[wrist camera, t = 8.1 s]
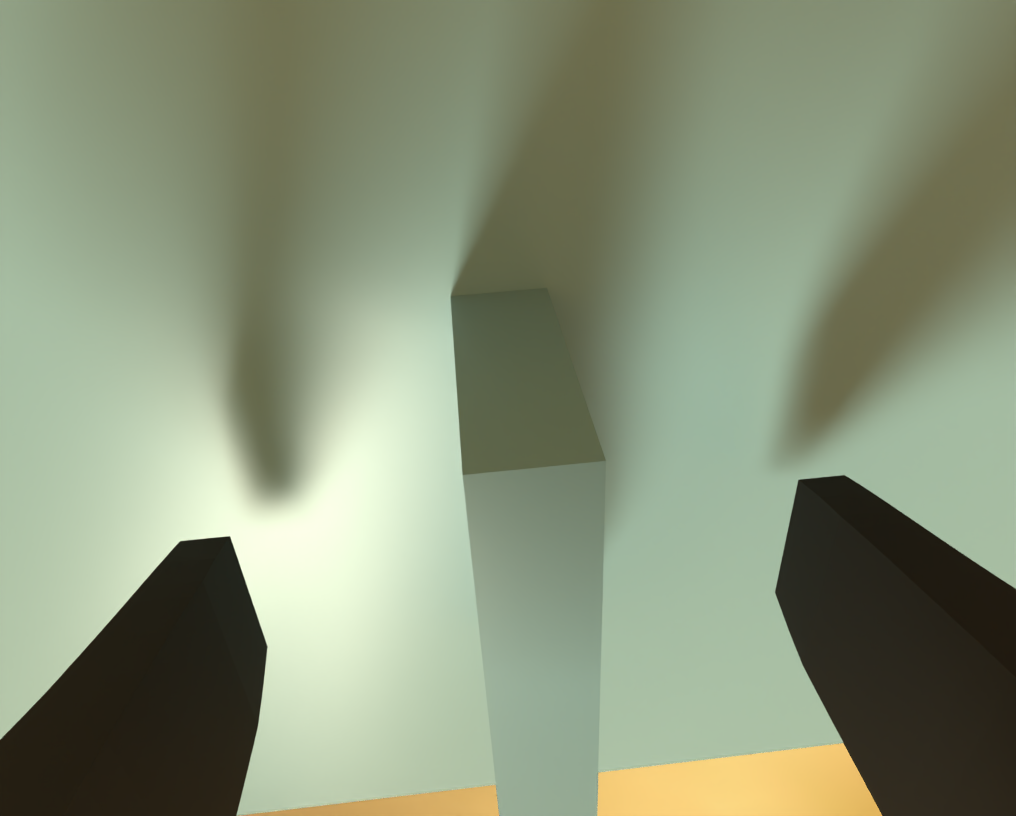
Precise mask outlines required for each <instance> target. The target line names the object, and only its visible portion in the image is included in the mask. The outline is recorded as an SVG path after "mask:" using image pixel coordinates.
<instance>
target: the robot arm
mask: <svg viewBox="0 0 1016 816" xmlns="http://www.w3.org/2000/svg"><path fill="white" fill-rule="evenodd" d="M775 594H776V597H777V600H778V602H779V605H780V608H781V610H782V613H783V616H784V619H785V621H786V624H787V627H788V630H789V632H790V635H791V637H792V640H793V642H794V645H795V647H796V650H797V652H798V655H799V657H800V660H801V662H802V665H803V667H804V669H805V671H806V673H807V675H808V677H809V679H810V680H811V682H812V684H813V686H814V688H815V690H816V692H817V694H818V696H819V698H820V700H821V701H822V703H823V705H824V707H825V709H826V711H827V713H828V715H829V717H830V719H831V720H832V722H833V724H834V726H835V728H836V730H837V732H838V734H839V735H840V737H841V739H842V741H843V743H844V745H845V747H846V748H847V750H848V752H849V754H850V756H851V758H852V760H853V761H854V763H855V765H856V767H857V769H858V771H859V773H860V775H861V776H862V778H863V780H864V782H865V784H866V786H867V788H868V789H869V791H870V793H871V795H872V797H873V799H874V801H875V802H876V804H877V806H878V808H879V810H880V812H881V814H882V816H1016V589H1015V588H1014V587H1012V586H1011V585H1009V584H1008V583H1006V582H1005V581H1003V580H1001V579H1000V578H998V577H997V576H995V575H994V574H992V573H991V572H989V571H988V570H986V569H985V568H983V567H982V566H980V565H979V564H977V563H976V562H974V561H973V560H971V559H970V558H968V557H967V556H965V555H964V554H962V553H961V552H959V551H958V550H956V549H955V548H953V547H952V546H950V545H949V544H947V543H946V542H944V541H943V540H941V539H940V538H939V537H937V536H936V535H934V534H933V533H931V532H930V531H928V530H927V529H925V528H924V527H922V526H921V525H919V524H918V523H916V522H915V521H914V520H912V519H911V518H909V517H908V516H906V515H905V514H903V513H902V512H900V511H899V510H897V509H896V508H894V507H893V506H891V505H890V504H889V503H887V502H886V501H884V500H883V499H881V498H880V497H878V496H877V495H875V494H874V493H872V492H871V491H869V490H868V489H866V488H864V487H863V486H861V485H860V484H858V483H857V482H855V481H853V480H852V479H850V478H849V477H847V476H845V475H840V476H830V477H820V478H810V479H800V480H798V484H797V488H796V493H795V498H794V503H793V508H792V512H791V517H790V522H789V527H788V532H787V536H786V541H785V546H784V551H783V556H782V561H781V565H780V570H779V575H778V580H777V585H776V589H775ZM267 648H268V646H267V643H266V640H265V637H264V635H263V632H262V629H261V626H260V623H259V620H258V617H257V614H256V611H255V608H254V605H253V602H252V599H251V596H250V593H249V590H248V587H247V585H246V582H245V579H244V576H243V573H242V570H241V567H240V564H239V561H238V558H237V555H236V552H235V549H234V546H233V543H232V540H231V537H230V536H226V537H216V538H206V539H196V540H186V541H180V542H179V543H178V544H177V545H176V546H175V547H174V548H173V550H172V551H171V552H170V553H169V554H168V555H167V556H166V557H165V558H164V560H163V561H162V562H161V563H160V564H159V565H158V566H157V568H156V569H155V570H154V571H153V572H152V573H151V574H150V576H149V577H148V578H147V579H146V580H145V581H144V582H143V584H142V585H141V586H140V587H139V588H138V589H137V590H136V592H135V593H134V594H133V595H132V596H131V597H130V598H129V600H128V601H127V602H126V603H125V604H124V605H123V607H122V608H121V609H120V610H119V611H118V612H117V613H116V615H115V616H114V617H113V618H112V619H111V620H110V621H109V623H108V624H107V625H106V626H105V627H104V628H103V629H102V631H101V632H100V633H99V634H98V635H97V636H96V637H95V639H94V640H93V641H92V642H91V643H90V644H89V645H88V646H87V647H86V649H85V650H84V651H83V652H82V653H81V654H80V655H79V656H78V657H77V658H76V660H75V661H74V662H73V663H72V664H71V665H70V666H69V667H68V668H67V670H66V671H65V672H64V673H63V674H62V675H61V676H60V677H59V678H58V680H57V681H56V682H55V683H54V684H53V685H52V686H51V687H50V688H49V690H48V691H47V692H46V693H45V694H44V695H43V696H42V697H41V698H40V699H39V700H38V701H37V702H36V703H35V704H34V705H33V706H32V707H31V708H30V709H29V710H28V711H27V713H26V714H25V715H24V716H23V717H22V718H21V719H20V720H19V721H18V722H17V723H16V724H15V725H14V726H13V727H12V728H11V729H10V730H9V731H8V732H7V733H6V734H5V735H4V736H3V737H2V738H1V739H0V816H237V812H238V808H239V804H240V800H241V796H242V791H243V787H244V783H245V779H246V775H247V771H248V767H249V762H250V758H251V754H252V750H253V746H254V741H255V737H256V733H257V729H258V723H259V716H260V708H261V700H262V693H263V685H264V675H265V666H266V657H267Z"/></svg>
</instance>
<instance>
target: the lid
mask: <svg viewBox="0 0 1016 816" xmlns="http://www.w3.org/2000/svg"><path fill="white" fill-rule="evenodd" d="M840 475H845V476H847V477H849V478H850V479H852V480H853V481H855V482H857V483H858V484H860V485H861V486H863V487H864V488H866V489H868V490H869V491H871V492H872V493H874V494H875V495H877V496H878V497H880V498H881V499H883V500H884V501H886V502H887V503H889V504H890V505H891V506H893V507H894V508H896V509H897V510H899V511H900V512H902V513H903V514H905V515H906V516H908V517H909V518H911V519H912V520H914V521H915V522H916V523H918V524H919V525H921V526H922V527H924V528H925V529H927V530H928V531H930V532H931V533H933V534H934V535H936V536H937V537H939V538H940V539H941V540H943V541H944V542H946V543H947V544H949V545H950V546H952V547H953V548H955V549H956V550H958V551H959V552H961V553H962V554H964V555H965V556H967V557H968V558H970V559H971V560H973V561H974V562H976V563H977V564H979V565H980V566H982V567H983V568H985V569H986V570H988V571H989V572H991V573H992V574H994V575H995V576H997V577H998V578H1000V579H1001V580H1003V581H1005V582H1006V583H1008V584H1009V585H1011V586H1012V587H1014V588H1015V589H1016V0H0V739H1V738H2V737H3V736H4V735H5V734H6V733H7V732H8V731H9V730H10V729H11V728H12V727H13V726H14V725H15V724H16V723H17V722H18V721H19V720H20V719H21V718H22V717H23V716H24V715H25V714H26V713H27V711H28V710H29V709H30V708H31V707H32V706H33V705H34V704H35V703H36V702H37V701H38V700H39V699H40V698H41V697H42V696H43V695H44V694H45V693H46V692H47V691H48V690H49V688H50V687H51V686H52V685H53V684H54V683H55V682H56V681H57V680H58V678H59V677H60V676H61V675H62V674H63V673H64V672H65V671H66V670H67V668H68V667H69V666H70V665H71V664H72V663H73V662H74V661H75V660H76V658H77V657H78V656H79V655H80V654H81V653H82V652H83V651H84V650H85V649H86V647H87V646H88V645H89V644H90V643H91V642H92V641H93V640H94V639H95V637H96V636H97V635H98V634H99V633H100V632H101V631H102V629H103V628H104V627H105V626H106V625H107V624H108V623H109V621H110V620H111V619H112V618H113V617H114V616H115V615H116V613H117V612H118V611H119V610H120V609H121V608H122V607H123V605H124V604H125V603H126V602H127V601H128V600H129V598H130V597H131V596H132V595H133V594H134V593H135V592H136V590H137V589H138V588H139V587H140V586H141V585H142V584H143V582H144V581H145V580H146V579H147V578H148V577H149V576H150V574H151V573H152V572H153V571H154V570H155V569H156V568H157V566H158V565H159V564H160V563H161V562H162V561H163V560H164V558H165V557H166V556H167V555H168V554H169V553H170V552H171V551H172V550H173V548H174V547H175V546H176V545H177V544H178V543H179V542H180V541H186V540H196V539H206V538H216V537H226V536H230V537H231V540H232V543H233V546H234V549H235V552H236V555H237V558H238V561H239V564H240V567H241V570H242V573H243V576H244V579H245V582H246V585H247V587H248V590H249V593H250V596H251V599H252V602H253V605H254V608H255V611H256V614H257V617H258V620H259V623H260V626H261V629H262V632H263V635H264V637H265V640H266V643H267V646H268V648H267V657H266V666H265V675H264V685H263V693H262V700H261V708H260V716H259V723H258V729H257V733H256V737H255V741H254V746H253V750H252V754H251V758H250V762H249V767H248V771H247V775H246V779H245V783H244V787H243V791H242V796H241V800H240V804H239V808H238V812H237V816H239V815H248V814H256V813H264V812H273V811H281V810H289V809H298V808H306V807H314V806H323V805H331V804H339V803H348V802H356V801H364V800H373V799H381V798H389V797H398V796H406V795H414V794H423V793H431V792H439V791H448V790H456V789H464V788H473V787H481V786H489V785H496V790H497V799H498V809H499V816H597V801H598V772H606V771H614V770H622V769H631V768H639V767H647V766H656V765H664V764H672V763H681V762H689V761H697V760H706V759H714V758H722V757H731V756H739V755H747V754H756V753H764V752H772V751H781V750H789V749H797V748H806V747H814V746H822V745H831V744H839V743H843V741H842V739H841V737H840V735H839V734H838V732H837V730H836V728H835V726H834V724H833V722H832V720H831V719H830V717H829V715H828V713H827V711H826V709H825V707H824V705H823V703H822V701H821V700H820V698H819V696H818V694H817V692H816V690H815V688H814V686H813V684H812V682H811V680H810V679H809V677H808V675H807V673H806V671H805V669H804V667H803V665H802V662H801V660H800V657H799V655H798V652H797V650H796V647H795V645H794V642H793V640H792V637H791V635H790V632H789V630H788V627H787V624H786V621H785V619H784V616H783V613H782V610H781V608H780V605H779V602H778V600H777V597H776V594H775V589H776V585H777V580H778V575H779V570H780V565H781V561H782V556H783V551H784V546H785V541H786V536H787V532H788V527H789V522H790V517H791V512H792V508H793V503H794V498H795V493H796V488H797V484H798V480H800V479H810V478H820V477H830V476H840Z"/></svg>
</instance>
